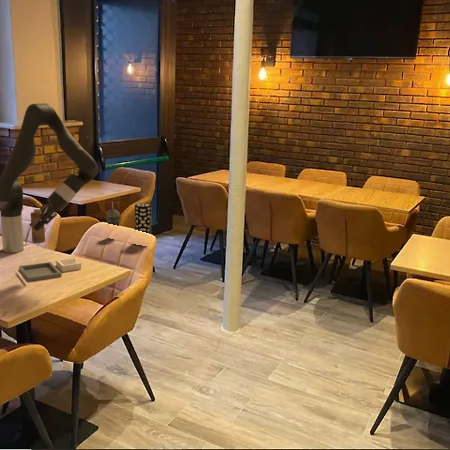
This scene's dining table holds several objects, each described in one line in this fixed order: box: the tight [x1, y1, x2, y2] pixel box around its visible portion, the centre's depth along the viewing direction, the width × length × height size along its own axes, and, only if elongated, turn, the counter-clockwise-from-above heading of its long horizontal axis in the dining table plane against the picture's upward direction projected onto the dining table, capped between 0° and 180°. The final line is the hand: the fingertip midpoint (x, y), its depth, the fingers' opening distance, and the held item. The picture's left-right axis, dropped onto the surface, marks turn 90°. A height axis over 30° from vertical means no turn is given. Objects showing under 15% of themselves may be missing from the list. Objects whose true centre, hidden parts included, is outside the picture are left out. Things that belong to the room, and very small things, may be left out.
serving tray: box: [18, 261, 63, 283], centre depth 213 cm, size 16×13×2 cm
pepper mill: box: [30, 208, 46, 244], centre depth 208 cm, size 5×5×13 cm
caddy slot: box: [55, 257, 82, 273], centre depth 221 cm, size 9×8×4 cm
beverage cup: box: [105, 200, 121, 227], centre depth 269 cm, size 7×7×20 cm
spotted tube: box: [134, 202, 152, 235], centre depth 262 cm, size 8×8×20 cm
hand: (33, 227), depth 207 cm, fingers closed on pepper mill, 5 cm apart
